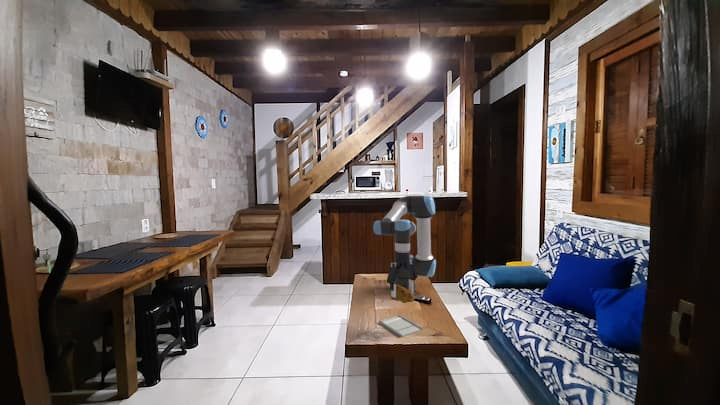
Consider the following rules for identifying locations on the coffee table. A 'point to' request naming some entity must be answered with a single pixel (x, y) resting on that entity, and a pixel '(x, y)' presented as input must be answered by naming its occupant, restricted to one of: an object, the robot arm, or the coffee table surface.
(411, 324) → the mat
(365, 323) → the coffee table surface
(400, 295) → the rock
